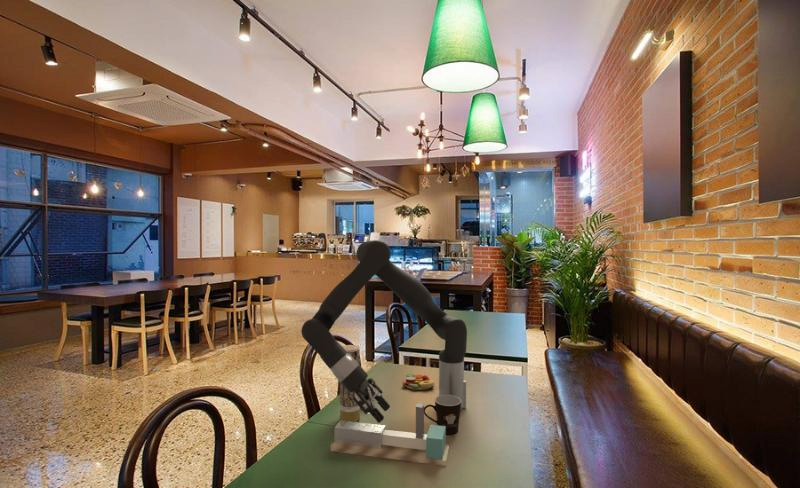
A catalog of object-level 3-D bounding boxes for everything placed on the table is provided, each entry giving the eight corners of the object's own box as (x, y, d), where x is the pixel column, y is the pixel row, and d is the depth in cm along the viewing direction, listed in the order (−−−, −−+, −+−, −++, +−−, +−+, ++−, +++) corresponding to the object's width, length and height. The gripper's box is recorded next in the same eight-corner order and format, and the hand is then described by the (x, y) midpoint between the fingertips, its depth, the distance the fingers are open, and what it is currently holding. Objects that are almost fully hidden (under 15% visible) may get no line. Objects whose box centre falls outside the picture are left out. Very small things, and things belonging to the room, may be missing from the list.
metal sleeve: (334, 443, 117) (334, 427, 117) (340, 435, 122) (340, 420, 122) (381, 449, 114) (381, 433, 114) (385, 440, 118) (385, 425, 118)
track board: (330, 450, 116) (330, 445, 116) (340, 437, 124) (340, 432, 123) (445, 466, 108) (445, 460, 108) (449, 450, 116) (449, 445, 116)
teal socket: (426, 457, 109) (426, 437, 109) (430, 443, 117) (430, 424, 117) (442, 459, 108) (442, 439, 108) (445, 445, 116) (445, 426, 116)
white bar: (372, 443, 115) (372, 403, 115) (375, 438, 118) (375, 398, 118) (436, 451, 111) (436, 409, 111) (437, 445, 114) (437, 404, 114)
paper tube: (356, 425, 131) (356, 351, 131) (337, 423, 133) (336, 349, 132) (362, 416, 138) (362, 345, 138) (344, 414, 139) (343, 344, 139)
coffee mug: (463, 426, 130) (463, 396, 130) (458, 439, 122) (458, 407, 122) (429, 421, 134) (429, 392, 134) (422, 433, 126) (422, 402, 126)
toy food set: (435, 392, 160) (435, 384, 160) (402, 391, 160) (402, 384, 160) (432, 380, 173) (432, 372, 173) (402, 380, 174) (402, 372, 174)
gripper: (350, 371, 111) (389, 416, 109) (363, 358, 125) (398, 397, 123) (332, 388, 112) (370, 433, 110) (347, 373, 126) (381, 413, 124)
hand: (385, 414), depth 116 cm, fingers open, 8 cm apart
